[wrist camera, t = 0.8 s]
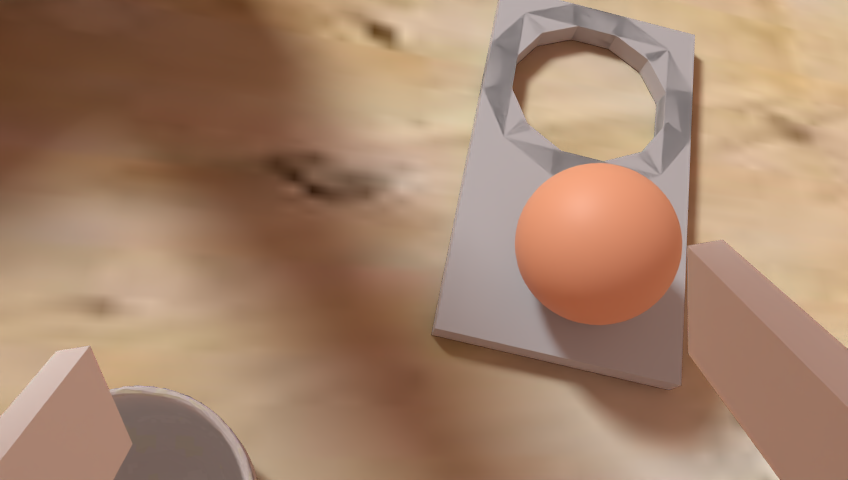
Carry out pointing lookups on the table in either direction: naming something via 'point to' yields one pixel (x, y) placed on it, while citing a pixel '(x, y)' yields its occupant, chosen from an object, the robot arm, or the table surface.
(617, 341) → the board
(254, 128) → the table surface
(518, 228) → the ball
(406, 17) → the table surface
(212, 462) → the teacup
